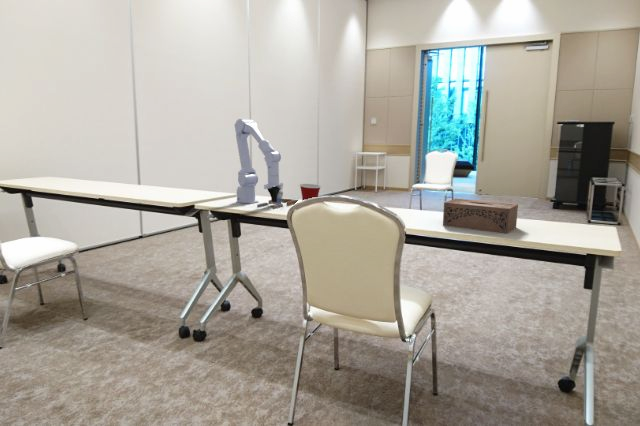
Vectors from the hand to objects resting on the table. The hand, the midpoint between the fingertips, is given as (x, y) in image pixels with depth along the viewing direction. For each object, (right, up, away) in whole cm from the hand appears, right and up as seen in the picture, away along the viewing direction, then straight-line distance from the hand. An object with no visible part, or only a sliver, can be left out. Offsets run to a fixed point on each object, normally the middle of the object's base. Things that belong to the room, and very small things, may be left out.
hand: (274, 201), depth 236 cm
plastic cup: (+18, -4, -5) cm, 19 cm away
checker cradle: (-2, -3, -1) cm, 3 cm away
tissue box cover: (+89, -12, -45) cm, 101 cm away
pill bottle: (0, -1, +3) cm, 3 cm away
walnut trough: (+4, -1, +11) cm, 11 cm away
